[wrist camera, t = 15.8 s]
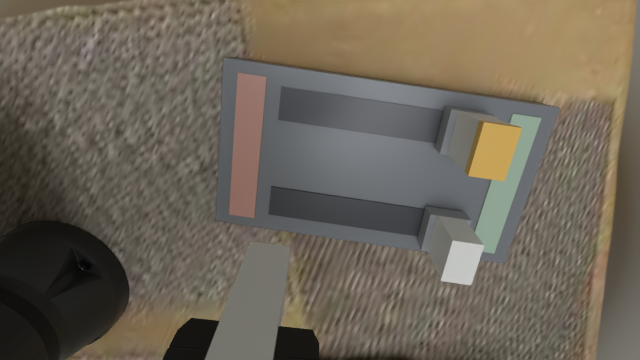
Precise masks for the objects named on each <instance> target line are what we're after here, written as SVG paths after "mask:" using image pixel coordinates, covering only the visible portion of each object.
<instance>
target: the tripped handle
mask: <svg viewBox="0 0 640 360" xmlns="http://www.w3.org/2000/svg"><path fill="white" fill-rule="evenodd" d="M521 131H522V128H521V127H519V126H516V125H512V124H509V123H507V122H504V121H502V120H500V119H497V116H495V115H493V114H490V113H487V112H480V111H473V110H467V109H460V108H453V107H446V106H445V109H444V113H443V116H442V120H441V124H440V128H439V132H438V136H437V140H436V144H435V149H436V150H437V151H438V152H439V153H440V154H445V155H448V156H449V157H450V158H451V159H452V160H453V161H454V162H455V163H456V164H457V165H459V166H460V167H461V168H462V169H463V170H464V171H465V172H464V173H466V174H467V175H468V176H471V177H478V178H485V179H491V180H498V181H505V179H506V176H507V173H508V170H509V167H510V164H511V161H512V158H513V155H514V152H515V149H516V146H517V143H518V140H519V137H520V134H521Z"/></svg>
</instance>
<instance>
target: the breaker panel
mask: <svg viewBox="0 0 640 360" xmlns="http://www.w3.org/2000/svg"><path fill="white" fill-rule="evenodd" d="M445 106H446V107H453V108H460V109H467V110H473V111H480V112H487V113H490V114H493V115H495V116H497V119H500V120H502V121H504V122H507V123H509V124H512V125H516V126H519V127H521V128H522V131H521V134H520V137H519V140H518V143H517V146H516V149H515V152H514V155H513V158H512V161H511V164H510V167H509V170H508V173H507V176H506V179H505V181H498V180H491V179H485V178H478V177H471V176H468V175H467V174H466V173H464V172H465V171H464V170H463V169H462V168H461V167H460V166H459V165H457V164H456V163H455V162H454V161H453V160H452V159H451V158H450V157H449V156H448V155H445V154H440V153H439V152H438V151H437V150H436V149H435V144H436V140H437V136H438V132H439V128H440V124H441V120H442V116H443V113H444V109H445ZM559 110H560V108H558V107H554V106H550V105H546V104H543V103H537V102H530V101H524V100H517V99H510V98H504V97H497V96H490V95H484V94H477V93H470V92H463V91H457V90H450V89H443V88H437V87H430V86H423V85H417V84H410V83H403V82H396V81H390V80H383V79H376V78H370V77H363V76H356V75H350V74H343V73H336V72H329V71H323V70H316V69H309V68H303V67H296V66H289V65H283V64H276V63H269V62H263V61H256V60H249V59H242V58H236V57H227V58H223V76H222V97H221V118H220V139H219V160H218V182H217V203H216V221H219V222H226V223H233V224H240V225H246V226H253V227H260V228H267V229H273V230H280V231H287V232H294V233H301V234H307V235H314V236H321V237H328V238H335V239H341V240H348V241H355V242H362V243H368V244H375V245H382V246H389V247H396V248H402V249H409V250H416V251H423V252H428V254H429V256H430V258H431V260H432V263H433V265H434V267H435V269H436V271H437V274H438V276H439V278H440V280H441V281H445V282H452V283H459V284H466V285H471V284H472V281H473V278H474V275H475V272H476V269H477V266H478V263H479V260H484V261H491V262H497V263H504V261H505V258H506V255H507V253H508V250H509V247H510V244H511V242H512V239H513V236H514V233H515V231H516V228H517V225H518V222H519V220H520V217H521V214H522V211H523V209H524V206H525V203H526V200H527V198H528V195H529V192H530V189H531V187H532V184H533V181H534V178H535V176H536V173H537V170H538V167H539V165H540V162H541V159H542V156H543V154H544V151H545V148H546V145H547V143H548V140H549V137H550V134H551V132H552V129H553V126H554V123H555V121H556V118H557V115H558V112H559Z"/></svg>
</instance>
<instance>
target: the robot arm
mask: <svg viewBox="0 0 640 360" xmlns="http://www.w3.org/2000/svg"><path fill="white" fill-rule="evenodd" d="M290 248H291V246H283V245H275V244H266V243H257V242H250V243H249V245H248V248H247V251H246V253H245V256H244V259H243V261H242V264H241V266H240V269H239V272H238V274H237V277H236V279H235V282H234V285H233V287H232V290H231V293H230V295H229V298H228V300H227V303H226V306H225V308H224V311H223V313H222V316H221V319H220V321H215V320H206V319H196V318H191V319H190V320H189V321H188V322H186V323H185V324H184V325H183V326H182V327H181V328H179V329H178V330H177V332H176V334H175V336H174V338H173V340H172V342H171V344H170V347H169V348H168V350H167V351H166V353H165V355H164V357H163V360H319V342H318V340H317V338H316V336H315V334H314V332H313V330H309V329H300V328H291V327H281V321H282V315H283V308H284V300H285V291H286V282H287V274H288V265H289V256H290ZM127 302H128V284H127V279H126V276H125V273H124V271H123V269H122V267H121V265H120V263H119V262H118V260H117V259H116V257H115V256H114V255H113V254H112V253H111V251H110V250H109V249H108V248H107V247H106V246H105V245H103V244H102V243H101V242H100V241H99V240H97V239H96V238H94V237H93V236H92V235H90V234H88V233H86V232H84V231H83V230H80V229H78V228H76V227H73V226H70V225H67V224H63V223H58V222H51V221H39V222H32V223H27V224H24V225H22V226H19V227H17V228H16V229H14V230H12V231H10V232H8V233H7V234H5V235H3V236H1V237H0V360H66V359H67V358H69V357H70V356H71V355H73V354H74V353H76V352H77V351H79V350H80V349H82V348H83V347H85V346H86V345H89V344H91V343H93V342H95V341H96V340H98V339H100V338H101V337H102V336H104V335H105V334H106V333H107V332H108V331H109V330H110V329H111V328H112V326H113V325H114V324H115V323H116V322H117V320H118V319H119V318H120V317H121V315H122V314H123V312H124V310H125V308H126V305H127Z"/></svg>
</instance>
